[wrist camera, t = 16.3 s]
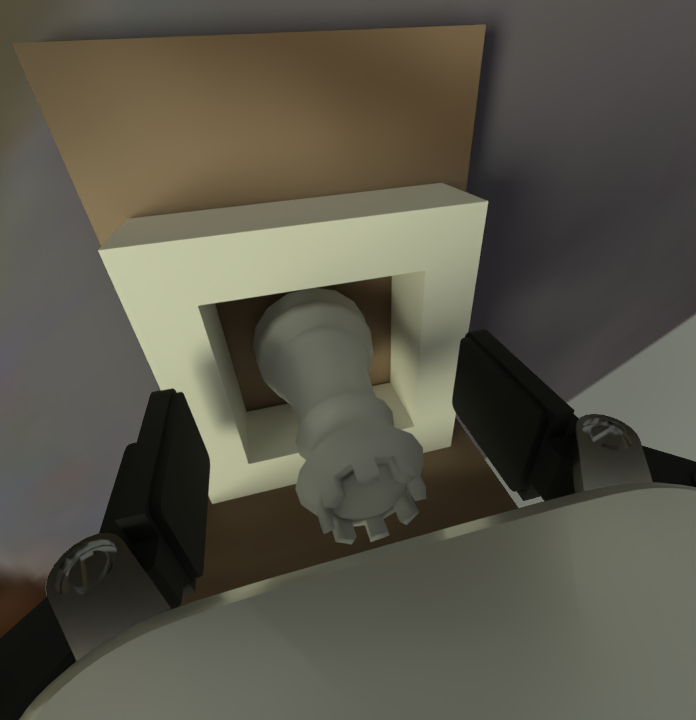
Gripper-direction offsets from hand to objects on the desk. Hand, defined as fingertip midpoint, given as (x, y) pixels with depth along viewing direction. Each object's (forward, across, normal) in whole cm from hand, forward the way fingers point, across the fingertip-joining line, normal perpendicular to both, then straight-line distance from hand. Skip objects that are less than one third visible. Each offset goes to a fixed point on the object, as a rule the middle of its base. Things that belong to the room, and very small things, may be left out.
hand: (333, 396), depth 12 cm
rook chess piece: (+4, 0, 0) cm, 4 cm away
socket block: (+4, 0, 0) cm, 4 cm away
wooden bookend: (+5, 0, -1) cm, 5 cm away
